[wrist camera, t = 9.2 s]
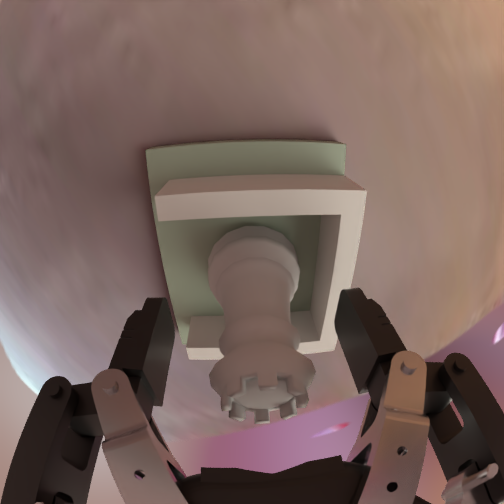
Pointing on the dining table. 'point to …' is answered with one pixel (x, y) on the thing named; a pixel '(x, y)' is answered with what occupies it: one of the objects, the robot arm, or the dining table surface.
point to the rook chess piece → (258, 325)
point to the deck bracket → (255, 214)
